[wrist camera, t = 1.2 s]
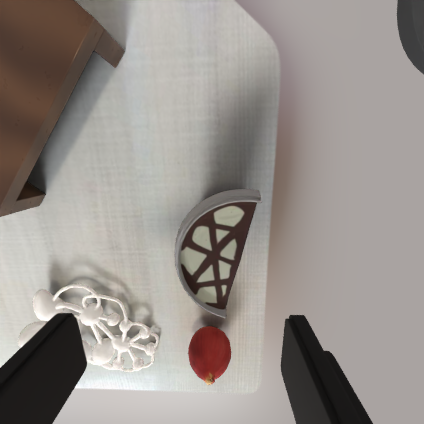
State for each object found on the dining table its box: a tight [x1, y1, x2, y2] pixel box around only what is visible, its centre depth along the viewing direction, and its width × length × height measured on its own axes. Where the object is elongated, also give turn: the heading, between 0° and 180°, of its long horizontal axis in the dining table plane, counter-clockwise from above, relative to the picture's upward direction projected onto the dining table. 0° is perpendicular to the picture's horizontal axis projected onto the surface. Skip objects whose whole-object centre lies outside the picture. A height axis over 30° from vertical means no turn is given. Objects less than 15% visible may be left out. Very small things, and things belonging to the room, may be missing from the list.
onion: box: [188, 326, 231, 385], centre depth 28 cm, size 6×6×8 cm
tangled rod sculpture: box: [18, 284, 159, 372], centre depth 30 cm, size 19×14×4 cm
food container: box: [175, 189, 262, 318], centre depth 22 cm, size 12×6×10 cm, turn 167°
